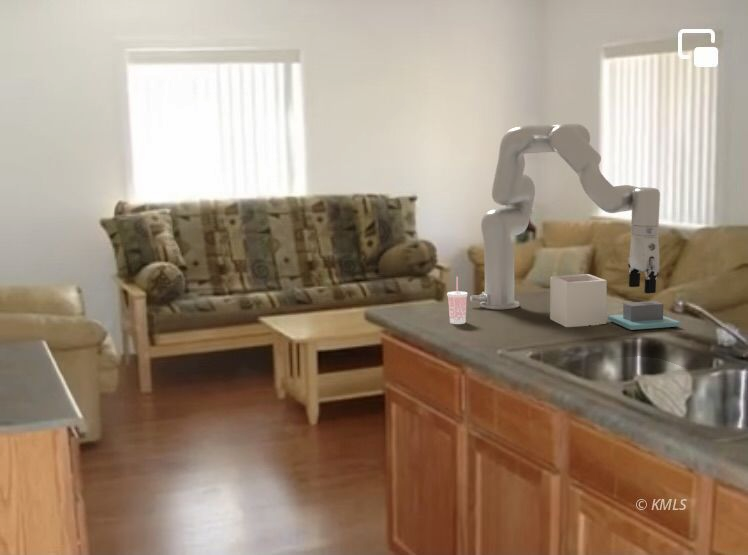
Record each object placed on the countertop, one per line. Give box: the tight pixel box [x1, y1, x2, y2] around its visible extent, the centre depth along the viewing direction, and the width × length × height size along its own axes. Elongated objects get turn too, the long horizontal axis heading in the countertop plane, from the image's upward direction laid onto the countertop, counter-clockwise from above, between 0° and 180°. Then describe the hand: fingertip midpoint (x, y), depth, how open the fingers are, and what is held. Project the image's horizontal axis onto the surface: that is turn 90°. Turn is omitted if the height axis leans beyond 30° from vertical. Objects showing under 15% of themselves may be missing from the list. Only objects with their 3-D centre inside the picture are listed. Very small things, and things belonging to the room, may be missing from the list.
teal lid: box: [607, 300, 681, 331], centre depth 290 cm, size 15×15×6 cm
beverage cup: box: [446, 275, 468, 325], centre depth 299 cm, size 6×6×14 cm
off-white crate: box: [549, 273, 608, 328], centre depth 296 cm, size 12×12×13 cm
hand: (641, 289), depth 289 cm, fingers open, 9 cm apart
